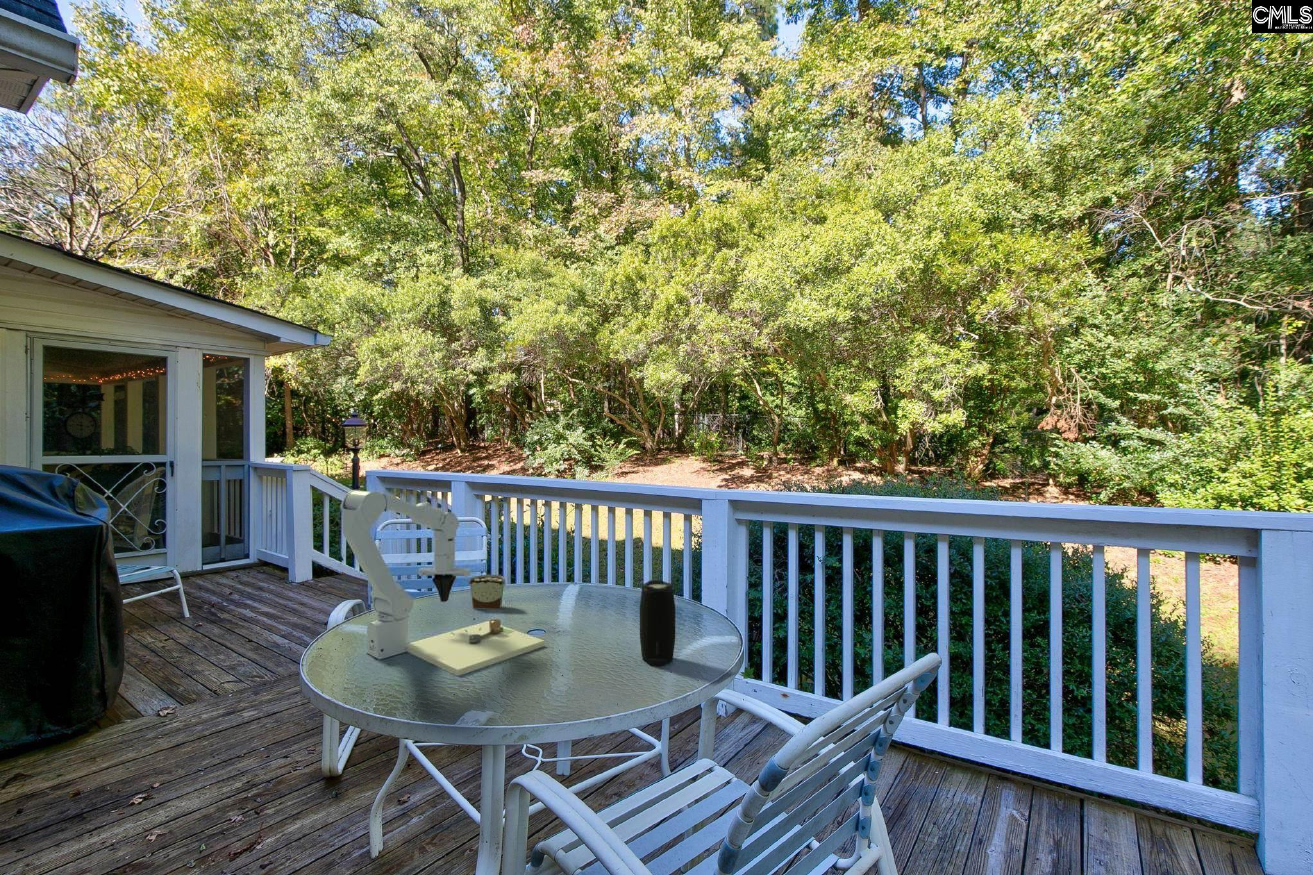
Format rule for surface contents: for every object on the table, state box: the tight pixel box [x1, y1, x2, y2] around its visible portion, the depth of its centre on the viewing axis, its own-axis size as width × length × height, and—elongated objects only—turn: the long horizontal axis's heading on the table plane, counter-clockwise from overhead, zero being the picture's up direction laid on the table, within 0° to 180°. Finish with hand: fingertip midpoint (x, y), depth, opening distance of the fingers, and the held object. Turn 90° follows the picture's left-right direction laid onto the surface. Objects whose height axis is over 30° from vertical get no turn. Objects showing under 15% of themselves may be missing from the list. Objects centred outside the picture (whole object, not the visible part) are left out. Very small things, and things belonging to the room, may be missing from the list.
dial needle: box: [469, 618, 503, 643], centre depth 163 cm, size 12×3×3 cm, turn 155°
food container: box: [468, 574, 507, 610], centre depth 197 cm, size 12×6×10 cm, turn 84°
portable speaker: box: [639, 579, 676, 667], centre depth 150 cm, size 9×9×20 cm
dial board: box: [406, 620, 545, 677], centre depth 159 cm, size 26×26×2 cm
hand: (444, 600), depth 170 cm, fingers closed
